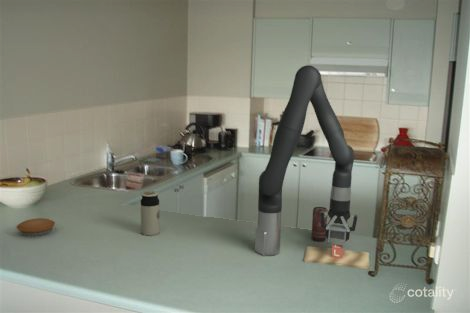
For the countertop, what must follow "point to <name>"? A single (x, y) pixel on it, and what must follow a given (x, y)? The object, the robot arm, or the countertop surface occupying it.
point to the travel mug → (150, 213)
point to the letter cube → (337, 251)
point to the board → (347, 259)
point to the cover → (337, 232)
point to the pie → (36, 227)
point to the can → (318, 225)
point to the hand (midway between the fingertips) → (337, 239)
